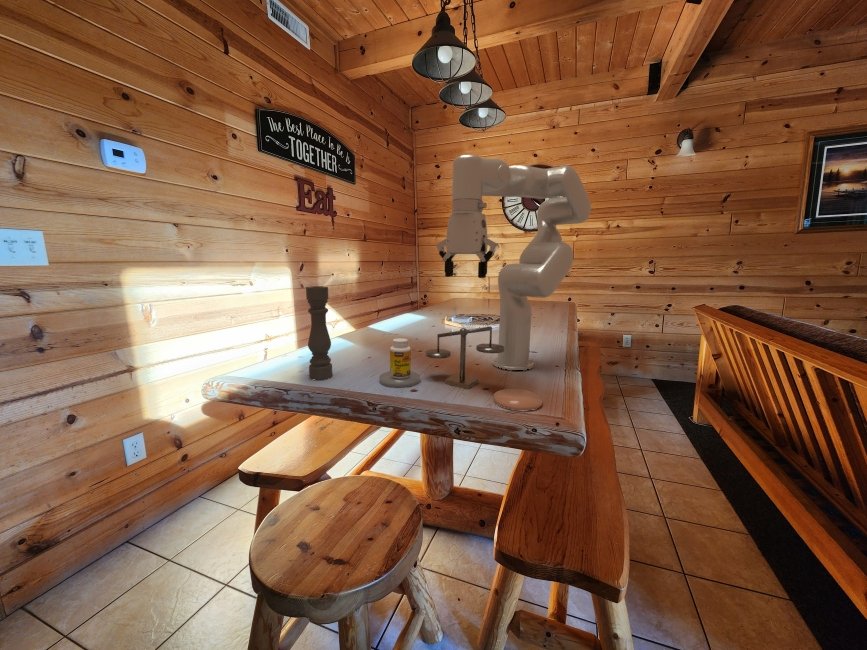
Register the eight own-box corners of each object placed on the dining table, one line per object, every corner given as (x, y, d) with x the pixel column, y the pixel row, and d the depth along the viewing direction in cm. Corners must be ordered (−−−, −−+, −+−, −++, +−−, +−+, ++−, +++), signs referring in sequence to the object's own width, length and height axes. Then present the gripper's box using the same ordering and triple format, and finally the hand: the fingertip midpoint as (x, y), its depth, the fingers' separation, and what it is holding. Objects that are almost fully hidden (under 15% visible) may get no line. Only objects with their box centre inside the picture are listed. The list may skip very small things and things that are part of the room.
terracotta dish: (504, 390, 94) (504, 385, 94) (547, 399, 88) (548, 394, 88) (486, 404, 85) (486, 399, 85) (532, 415, 79) (533, 410, 79)
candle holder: (306, 380, 100) (301, 288, 95) (313, 373, 106) (308, 286, 101) (329, 380, 100) (325, 288, 95) (334, 373, 106) (331, 286, 101)
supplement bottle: (391, 380, 97) (391, 342, 95) (388, 374, 102) (388, 338, 100) (412, 378, 98) (412, 341, 96) (408, 372, 103) (408, 337, 102)
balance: (434, 372, 108) (434, 317, 105) (506, 387, 96) (509, 325, 93) (420, 378, 102) (420, 320, 99) (495, 396, 90) (498, 330, 87)
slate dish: (396, 372, 108) (396, 368, 107) (427, 379, 102) (427, 374, 102) (370, 382, 99) (370, 378, 98) (403, 390, 93) (403, 386, 92)
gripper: (504, 208, 91) (501, 277, 94) (445, 212, 100) (444, 275, 104) (492, 204, 85) (489, 279, 88) (430, 209, 94) (429, 276, 97)
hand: (465, 277), depth 96 cm, fingers open, 9 cm apart
